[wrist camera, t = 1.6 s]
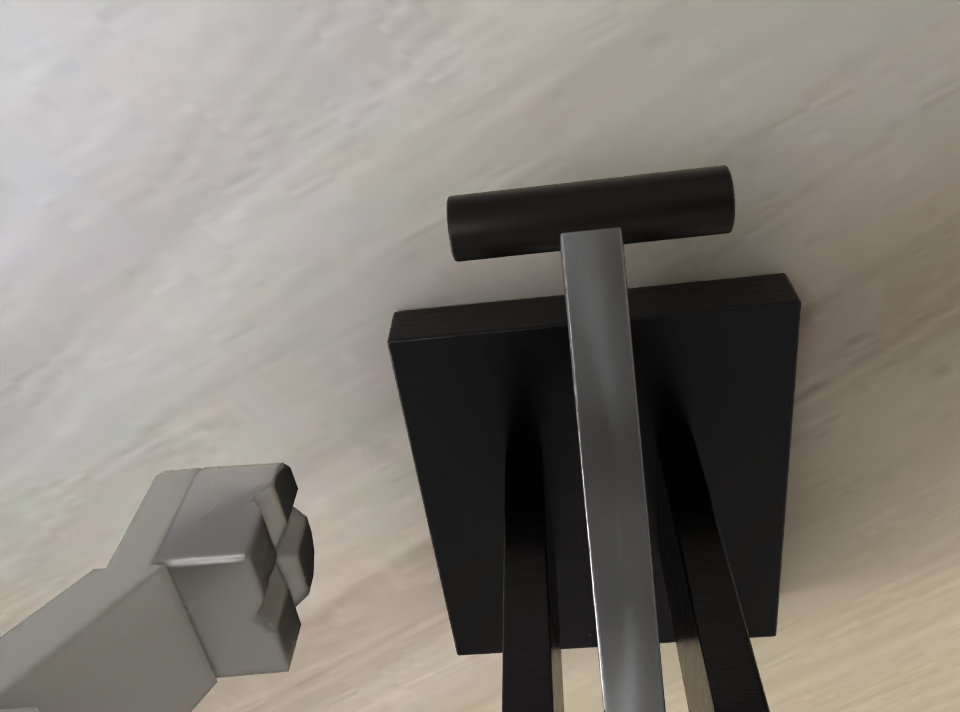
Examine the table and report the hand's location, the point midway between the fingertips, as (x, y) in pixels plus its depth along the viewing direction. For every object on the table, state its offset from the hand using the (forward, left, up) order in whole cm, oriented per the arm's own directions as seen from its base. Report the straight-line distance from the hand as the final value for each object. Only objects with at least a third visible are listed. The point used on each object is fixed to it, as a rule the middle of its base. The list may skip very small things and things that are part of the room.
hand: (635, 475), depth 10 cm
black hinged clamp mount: (+10, 0, -12) cm, 16 cm away
